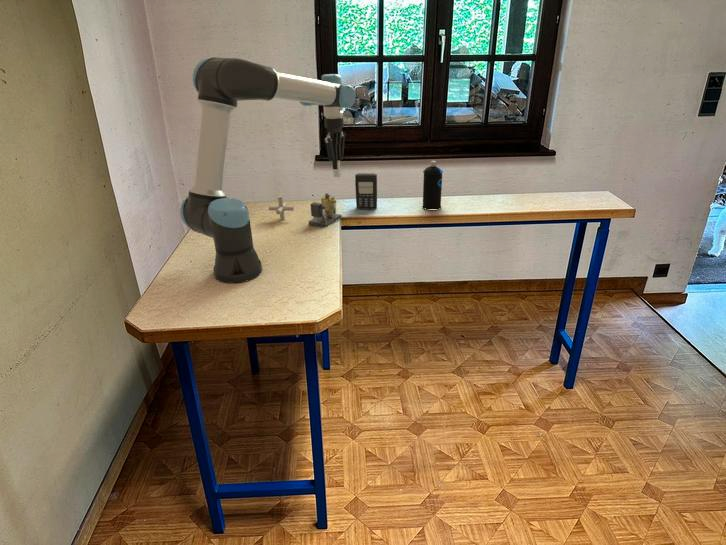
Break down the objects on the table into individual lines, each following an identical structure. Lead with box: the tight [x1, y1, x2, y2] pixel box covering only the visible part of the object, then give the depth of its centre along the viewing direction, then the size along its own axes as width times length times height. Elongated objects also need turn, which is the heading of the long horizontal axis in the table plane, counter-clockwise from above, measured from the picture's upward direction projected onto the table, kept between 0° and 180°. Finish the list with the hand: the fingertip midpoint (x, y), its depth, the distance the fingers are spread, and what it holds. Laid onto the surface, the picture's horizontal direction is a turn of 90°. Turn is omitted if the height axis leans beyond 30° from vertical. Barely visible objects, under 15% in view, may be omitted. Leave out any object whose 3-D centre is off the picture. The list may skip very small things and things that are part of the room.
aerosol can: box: [421, 160, 444, 210], centre depth 201 cm, size 8×8×20 cm
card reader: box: [354, 173, 378, 210], centre depth 204 cm, size 9×4×15 cm, turn 83°
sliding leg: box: [320, 192, 337, 215], centre depth 194 cm, size 4×6×8 cm, turn 60°
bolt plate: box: [308, 202, 342, 228], centre depth 192 cm, size 12×8×8 cm, turn 150°
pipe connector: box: [268, 195, 295, 222], centre depth 194 cm, size 10×10×10 cm
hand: (337, 176), depth 196 cm, fingers closed
